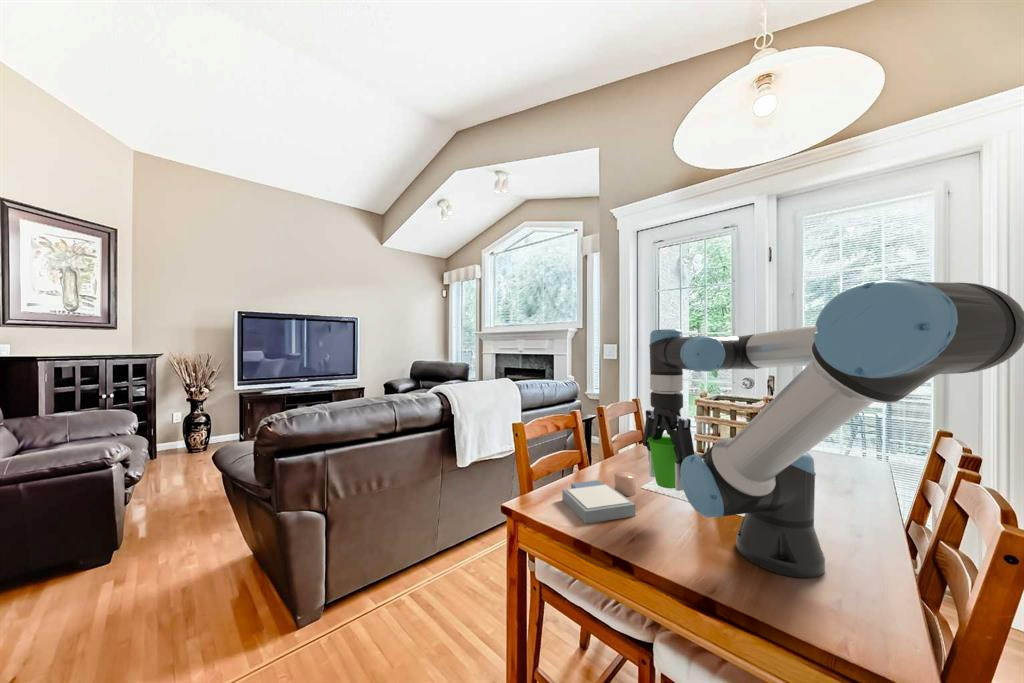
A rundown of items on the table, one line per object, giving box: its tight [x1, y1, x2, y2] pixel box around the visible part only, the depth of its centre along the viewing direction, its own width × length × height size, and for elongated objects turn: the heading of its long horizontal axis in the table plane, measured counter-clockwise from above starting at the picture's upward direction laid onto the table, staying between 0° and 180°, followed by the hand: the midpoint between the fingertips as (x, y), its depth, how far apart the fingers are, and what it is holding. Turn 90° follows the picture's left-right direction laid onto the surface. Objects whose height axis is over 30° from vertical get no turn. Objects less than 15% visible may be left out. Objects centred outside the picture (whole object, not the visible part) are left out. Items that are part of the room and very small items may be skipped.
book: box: [570, 479, 604, 489], centre depth 114 cm, size 6×9×2 cm
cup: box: [648, 435, 683, 489], centre depth 96 cm, size 9×9×11 cm
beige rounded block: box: [614, 471, 637, 497], centre depth 113 cm, size 6×6×5 cm
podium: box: [561, 483, 636, 524], centre depth 103 cm, size 14×14×3 cm
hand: (667, 482), depth 96 cm, fingers closed on cup, 9 cm apart
